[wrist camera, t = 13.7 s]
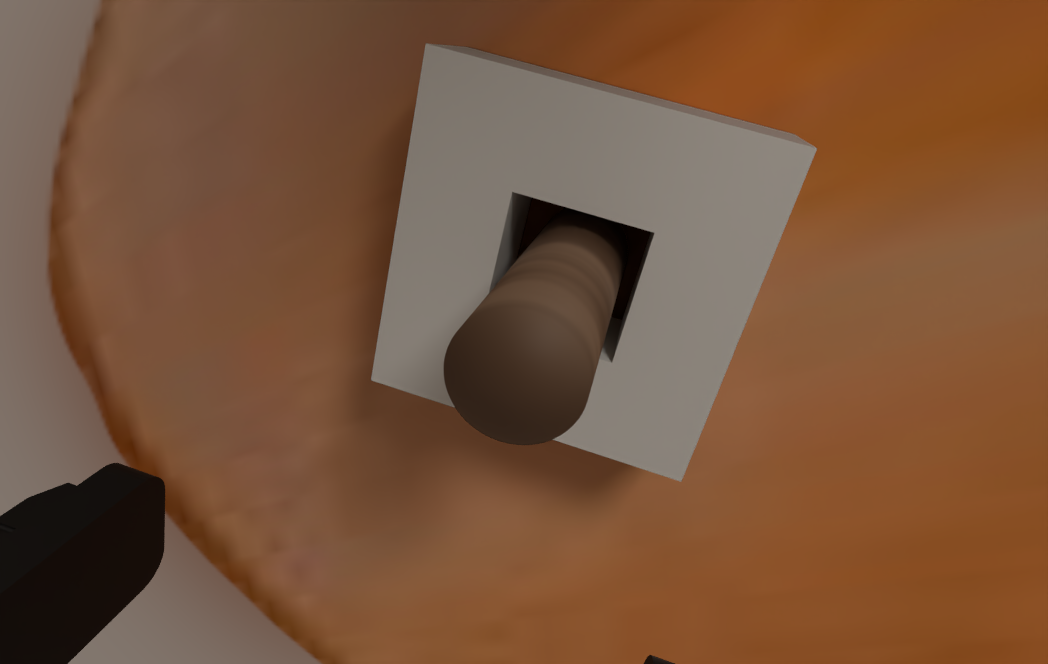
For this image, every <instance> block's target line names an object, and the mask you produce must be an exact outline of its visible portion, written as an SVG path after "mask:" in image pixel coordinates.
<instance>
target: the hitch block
mask: <svg viewBox="0 0 1048 664" xmlns="http://www.w3.org/2000/svg"><path fill="white" fill-rule="evenodd" d="M816 150H817V148H816V147H814V146H812V145H811V144H809V143H808V142H806V141H804V140H803V139H801V138H800V137H798V136H796V135H795V134H791V133H788V132H784V131H780V130H776V129H773V128H769V127H765V126H761V125H758V124H754V123H750V122H746V121H743V120H739V119H735V118H731V117H728V116H724V115H720V114H716V113H713V112H709V111H705V110H701V109H698V108H694V107H690V106H686V105H683V104H679V103H675V102H671V101H668V100H664V99H660V98H656V97H653V96H649V95H645V94H641V93H638V92H634V91H630V90H626V89H623V88H619V87H615V86H611V85H608V84H604V83H600V82H596V81H593V80H589V79H585V78H582V77H578V76H574V75H570V74H567V73H563V72H559V71H555V70H552V69H548V68H544V67H540V66H537V65H533V64H529V63H525V62H522V61H518V60H514V59H510V58H507V57H503V56H499V55H495V54H492V53H488V52H484V51H480V50H477V49H473V48H469V47H463V46H451V45H439V44H427V43H426V45H425V51H424V58H423V64H422V70H421V76H420V82H419V88H418V94H417V101H416V107H415V113H414V119H413V125H412V131H411V137H410V144H409V150H408V156H407V162H406V168H405V174H404V180H403V186H402V193H401V199H400V205H399V211H398V217H397V223H396V229H395V236H394V242H393V248H392V254H391V260H390V266H389V272H388V279H387V285H386V291H385V297H384V303H383V309H382V315H381V322H380V328H379V334H378V340H377V346H376V352H375V358H374V365H373V371H372V377H371V380H372V381H375V382H378V383H381V384H384V385H387V386H390V387H393V388H396V389H399V390H402V391H405V392H408V393H411V394H414V395H418V396H421V397H424V398H427V399H430V400H433V401H436V402H439V403H442V404H445V405H448V406H451V407H454V408H455V406H454V405H453V403H452V401H451V399H450V397H449V395H448V392H447V389H446V385H445V381H444V358H445V354H446V350H447V348H448V345H449V343H450V341H451V339H452V338H453V336H454V335H455V333H456V332H457V331H458V330H459V328H460V327H461V326H462V325H463V324H464V322H465V321H466V320H467V319H468V318H469V316H470V315H471V314H472V313H473V312H474V311H475V309H476V308H477V307H478V306H479V305H480V303H481V302H482V301H483V300H484V299H485V297H486V296H487V295H488V294H489V293H490V291H491V290H492V289H493V288H494V287H495V286H496V284H497V283H498V282H499V281H500V280H501V278H502V277H503V276H504V275H505V274H506V272H507V271H508V270H509V269H510V268H511V267H512V265H513V264H514V263H515V262H516V260H517V256H518V252H519V248H520V244H521V240H522V236H523V232H524V228H525V224H526V219H527V215H528V211H529V207H530V203H531V199H532V198H536V199H539V200H543V201H546V202H550V203H553V204H556V205H560V206H563V207H567V208H570V209H574V210H577V211H581V212H584V213H588V214H591V215H595V216H598V217H601V218H605V219H608V220H612V221H615V222H619V223H622V224H626V225H629V226H633V227H636V228H640V229H643V230H647V231H650V235H649V238H648V241H647V245H646V248H645V251H644V254H643V257H642V260H641V263H640V266H639V269H638V272H637V275H636V278H635V282H634V285H633V288H632V291H631V294H630V297H629V300H628V303H627V306H626V309H625V312H624V316H623V319H622V320H620V319H617V318H614V317H611V319H610V322H609V326H608V330H607V333H606V337H605V340H604V344H603V348H602V351H601V355H600V358H599V362H598V366H597V369H596V373H595V376H594V380H593V384H592V387H591V391H590V394H589V398H588V401H587V404H586V407H585V409H584V411H583V413H582V415H581V416H580V418H579V419H578V420H577V422H576V423H575V424H574V425H573V426H572V427H571V428H570V429H569V430H568V431H566V432H565V433H563V434H562V435H560V436H558V437H557V438H555V439H552V440H555V441H558V442H561V443H564V444H567V445H571V446H574V447H577V448H580V449H583V450H586V451H589V452H592V453H595V454H598V455H601V456H604V457H607V458H610V459H613V460H616V461H620V462H623V463H626V464H629V465H632V466H635V467H638V468H641V469H644V470H647V471H650V472H653V473H656V474H659V475H662V476H665V477H669V478H672V479H675V480H678V481H682V478H683V476H684V474H685V471H686V469H687V466H688V464H689V461H690V459H691V456H692V454H693V452H694V449H695V447H696V444H697V442H698V439H699V437H700V434H701V432H702V429H703V427H704V425H705V422H706V420H707V417H708V415H709V412H710V410H711V407H712V405H713V402H714V400H715V398H716V395H717V393H718V390H719V388H720V385H721V383H722V380H723V378H724V375H725V373H726V371H727V368H728V366H729V363H730V361H731V358H732V356H733V353H734V351H735V348H736V346H737V344H738V341H739V339H740V336H741V334H742V331H743V329H744V326H745V324H746V322H747V319H748V317H749V314H750V312H751V309H752V307H753V304H754V302H755V299H756V297H757V295H758V292H759V290H760V287H761V285H762V282H763V280H764V277H765V275H766V272H767V270H768V268H769V265H770V263H771V260H772V258H773V255H774V253H775V250H776V248H777V245H778V243H779V241H780V238H781V236H782V233H783V231H784V228H785V226H786V223H787V221H788V218H789V216H790V214H791V211H792V209H793V206H794V204H795V201H796V199H797V196H798V194H799V192H800V189H801V187H802V184H803V182H804V179H805V177H806V174H807V172H808V169H809V167H810V165H811V162H812V160H813V157H814V155H815V152H816Z"/></svg>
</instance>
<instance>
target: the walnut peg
mask: <svg viewBox="0 0 1048 664" xmlns="http://www.w3.org/2000/svg"><path fill="white" fill-rule="evenodd" d="M627 257H628V241H627V237H626V234H625V231H624V229H623V227H622V226H621V224H620V223H619V222H615V221H612V220H608V219H605V218H601V217H598V216H595V215H591V214H588V213H584V212H581V211H577V210H574V209H570V208H566V209H564V210H562V211H561V212H559V213H557V214H556V215H555V216H554V217H553V218H552V219H551V220H550V221H549V223H548V224H547V225H546V226H545V227H544V228H543V230H542V231H541V232H540V233H539V234H538V236H537V237H536V238H535V239H534V240H533V242H532V243H531V244H530V245H529V246H528V247H527V249H526V250H525V251H524V252H523V253H522V255H521V256H520V257H519V258H518V259H517V261H516V262H515V263H514V264H513V265H512V267H511V268H510V269H509V270H508V271H507V272H506V274H505V275H504V276H503V277H502V278H501V280H500V281H499V282H498V283H497V284H496V286H495V287H494V288H493V289H492V290H491V291H490V293H489V294H488V295H487V296H486V297H485V299H484V300H483V301H482V302H481V303H480V305H479V306H478V307H477V308H476V309H475V311H474V312H473V313H472V314H471V315H470V316H469V318H468V319H467V320H466V321H465V322H464V324H463V325H462V326H461V327H460V328H459V330H458V331H457V332H456V333H455V335H454V336H453V338H452V339H451V341H450V343H449V345H448V348H447V350H446V354H445V358H444V381H445V385H446V389H447V392H448V395H449V397H450V399H451V401H452V403H453V405H454V406H455V408H456V409H457V411H458V412H459V413H460V415H461V416H462V417H463V418H464V419H465V420H466V421H467V422H468V423H469V424H470V425H471V426H473V427H474V428H475V429H477V430H478V431H480V432H481V433H483V434H485V435H486V436H488V437H490V438H493V439H495V440H498V441H501V442H505V443H509V444H516V445H532V444H539V443H544V442H547V441H550V440H552V439H555V438H557V437H558V436H560V435H562V434H563V433H565V432H566V431H568V430H569V429H570V428H571V427H572V426H573V425H574V424H575V423H576V422H577V420H578V419H579V418H580V416H581V415H582V413H583V411H584V409H585V407H586V404H587V401H588V398H589V394H590V391H591V387H592V384H593V380H594V376H595V373H596V369H597V366H598V362H599V358H600V355H601V351H602V348H603V344H604V340H605V337H606V333H607V330H608V326H609V322H610V319H611V315H612V312H613V308H614V304H615V301H616V297H617V294H618V290H619V286H620V283H621V279H622V276H623V272H624V268H625V265H626V261H627Z"/></svg>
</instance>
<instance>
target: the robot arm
mask: <svg viewBox="0 0 1048 664" xmlns="http://www.w3.org/2000/svg"><path fill="white" fill-rule="evenodd" d="M164 527H165V485H164V482H163V480H162V479H161V478H159V477H156V476H153V475H150V474H147V473H145V472H142V471H139V470H136V469H133V468H131V467H128V466H125V465H122V464H119V463H113V464H109V465H107V466H105V467H103V468H102V469H100V470H99V471H98V472H96V473H95V474H93V475H92V476H90V477H89V478H87V479H86V480H85V481H83V482H82V483H81V484H79V485H78V486H76V485H73V484H70V483H66V484H63V485H61V486H58V487H55V488H53V489H50V490H47V491H45V492H42V493H40V494H37V495H34V496H31V497H29V498H27V499H26V500H24V501H22V502H21V503H19V504H18V505H16V506H15V507H13V508H12V509H10V510H9V511H7V512H6V513H4V514H3V515H1V516H0V664H68V662H70V661H71V659H73V658H74V657H75V656H76V655H77V654H78V653H79V652H80V651H81V650H82V649H83V648H84V647H85V646H86V645H87V644H88V643H89V642H90V641H91V640H92V639H93V638H94V637H95V636H96V635H97V634H98V633H99V632H100V631H101V630H102V629H103V628H104V627H105V626H106V625H107V624H108V623H109V622H110V621H111V620H112V619H113V618H115V617H116V616H117V615H118V613H119V612H121V611H122V610H123V609H124V608H125V607H126V605H128V604H129V603H130V602H131V601H132V600H133V599H134V598H135V597H136V596H137V595H138V594H139V593H140V592H141V591H142V590H143V589H144V588H145V587H146V585H147V584H148V583H149V582H150V580H151V579H152V578H153V576H154V575H155V572H156V571H157V569H158V567H159V565H160V563H161V560H162V557H163V552H164ZM644 664H675V663H672V662H669V661H666V660H663V659H661V658H658V657H655V656H652V655H649V656H648V657H647V659H646V660H645V662H644Z"/></svg>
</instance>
